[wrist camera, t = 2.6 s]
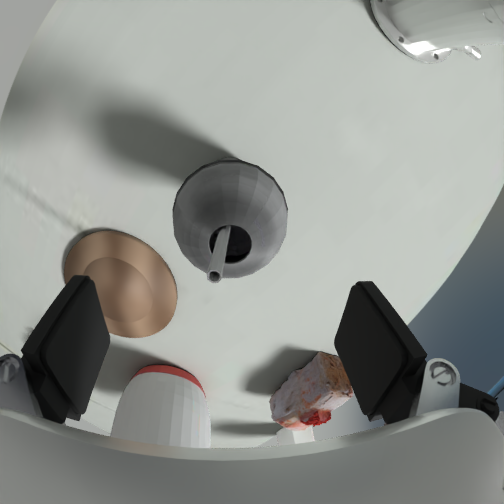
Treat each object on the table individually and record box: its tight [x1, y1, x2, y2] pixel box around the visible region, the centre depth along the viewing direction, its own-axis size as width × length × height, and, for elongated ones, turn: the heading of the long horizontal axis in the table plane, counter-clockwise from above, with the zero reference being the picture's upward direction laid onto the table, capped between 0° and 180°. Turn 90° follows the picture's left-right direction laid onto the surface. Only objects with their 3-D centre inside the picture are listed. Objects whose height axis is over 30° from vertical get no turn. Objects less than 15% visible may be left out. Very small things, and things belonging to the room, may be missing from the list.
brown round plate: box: [64, 231, 177, 338], centre depth 32 cm, size 16×16×1 cm
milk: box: [276, 426, 315, 446], centre depth 43 cm, size 6×6×22 cm
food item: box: [269, 352, 353, 431], centre depth 39 cm, size 14×8×10 cm, turn 149°
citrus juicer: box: [110, 365, 211, 448], centre depth 33 cm, size 16×17×20 cm
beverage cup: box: [173, 158, 288, 283], centre depth 18 cm, size 7×7×20 cm
